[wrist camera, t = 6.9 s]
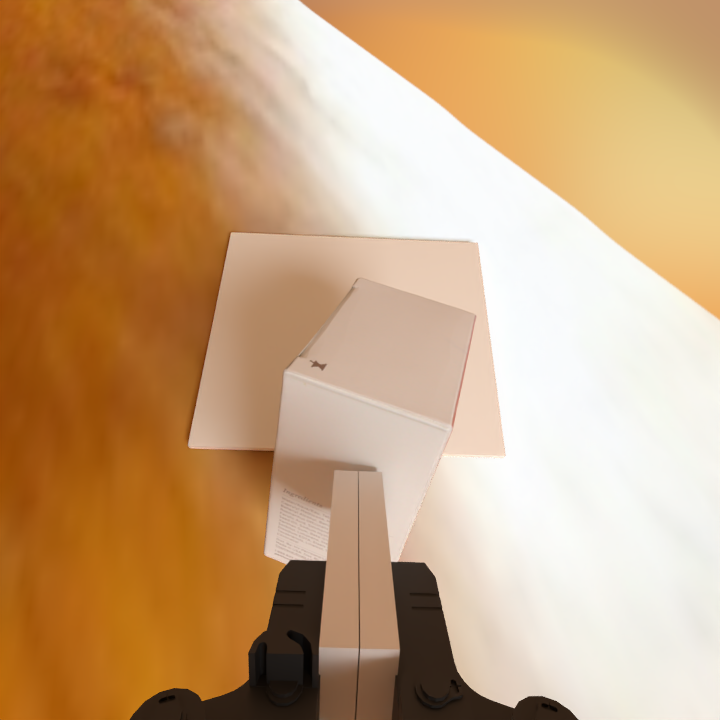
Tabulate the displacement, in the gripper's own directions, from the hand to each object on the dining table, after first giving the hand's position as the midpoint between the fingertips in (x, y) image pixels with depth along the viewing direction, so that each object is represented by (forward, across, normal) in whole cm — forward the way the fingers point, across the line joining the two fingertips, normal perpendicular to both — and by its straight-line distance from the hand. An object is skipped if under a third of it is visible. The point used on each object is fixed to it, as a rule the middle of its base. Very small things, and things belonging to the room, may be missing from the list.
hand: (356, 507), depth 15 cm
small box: (+7, 0, -5) cm, 8 cm away
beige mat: (+17, 0, +2) cm, 17 cm away
